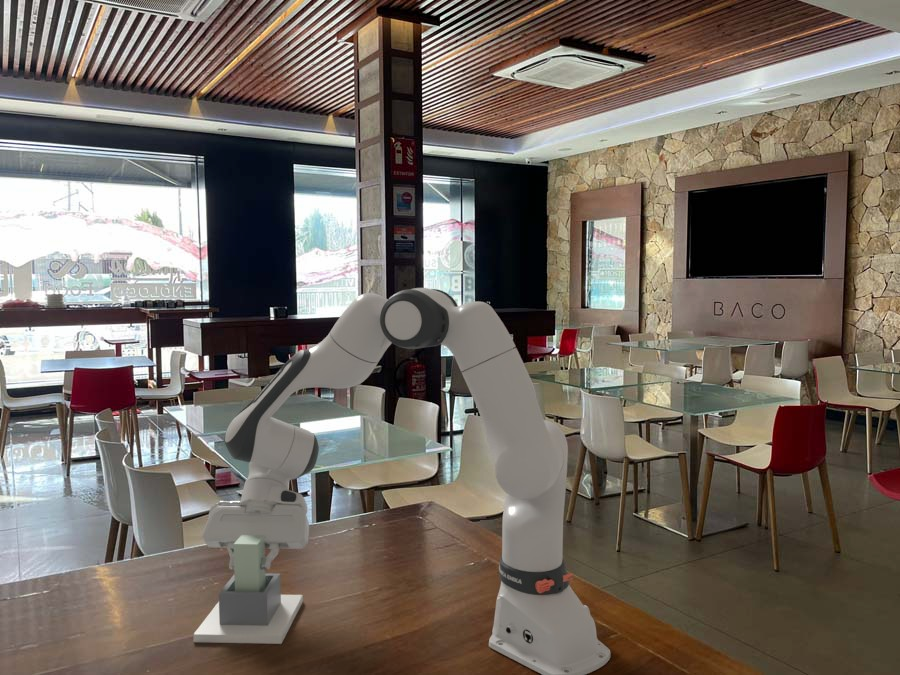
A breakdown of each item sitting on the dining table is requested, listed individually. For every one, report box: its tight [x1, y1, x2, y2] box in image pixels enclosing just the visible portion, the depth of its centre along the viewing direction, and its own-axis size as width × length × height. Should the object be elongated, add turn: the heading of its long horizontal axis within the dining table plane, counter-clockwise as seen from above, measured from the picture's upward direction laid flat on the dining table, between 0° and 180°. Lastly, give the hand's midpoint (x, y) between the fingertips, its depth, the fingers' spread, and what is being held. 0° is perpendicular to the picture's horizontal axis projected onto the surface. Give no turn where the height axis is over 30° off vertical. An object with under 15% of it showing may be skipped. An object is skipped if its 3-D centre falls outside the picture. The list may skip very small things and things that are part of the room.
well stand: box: [192, 572, 304, 645], centre depth 132 cm, size 16×16×8 cm
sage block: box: [233, 535, 266, 592], centre depth 131 cm, size 4×4×12 cm
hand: (249, 568), depth 131 cm, fingers closed on sage block, 4 cm apart
